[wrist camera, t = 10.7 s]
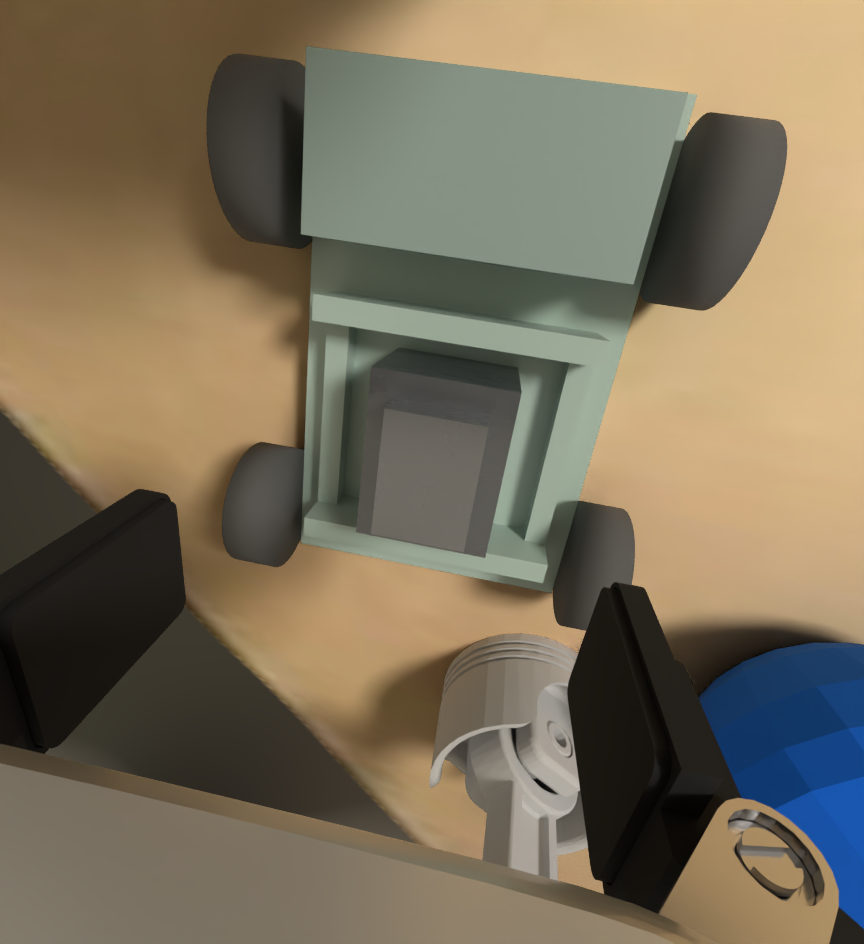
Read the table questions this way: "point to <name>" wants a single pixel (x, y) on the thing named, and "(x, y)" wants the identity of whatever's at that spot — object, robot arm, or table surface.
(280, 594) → the table surface
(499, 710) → the engine component
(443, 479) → the block
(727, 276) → the chassis
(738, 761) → the vase
